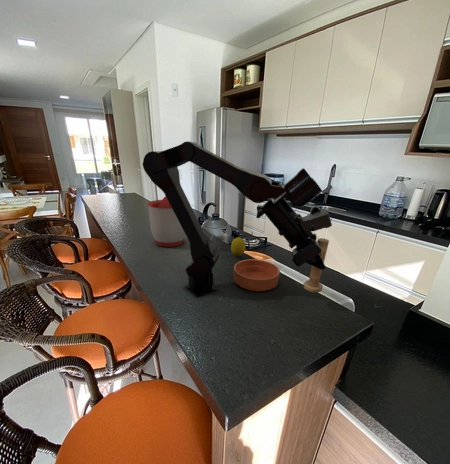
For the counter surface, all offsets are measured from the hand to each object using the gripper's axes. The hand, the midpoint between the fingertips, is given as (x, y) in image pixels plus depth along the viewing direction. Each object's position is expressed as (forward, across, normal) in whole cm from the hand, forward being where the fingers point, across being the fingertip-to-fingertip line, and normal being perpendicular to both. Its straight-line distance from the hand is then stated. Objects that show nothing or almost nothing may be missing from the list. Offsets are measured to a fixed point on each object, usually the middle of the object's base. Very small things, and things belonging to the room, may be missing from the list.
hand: (323, 266), depth 63 cm
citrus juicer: (-31, +34, +48) cm, 67 cm away
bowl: (-4, +9, +21) cm, 23 cm away
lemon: (-10, +27, +27) cm, 39 cm away
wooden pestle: (+4, 0, +6) cm, 7 cm away
